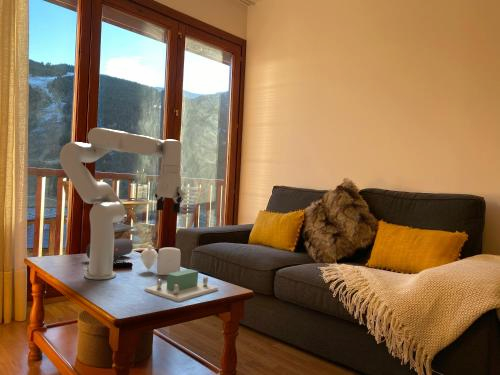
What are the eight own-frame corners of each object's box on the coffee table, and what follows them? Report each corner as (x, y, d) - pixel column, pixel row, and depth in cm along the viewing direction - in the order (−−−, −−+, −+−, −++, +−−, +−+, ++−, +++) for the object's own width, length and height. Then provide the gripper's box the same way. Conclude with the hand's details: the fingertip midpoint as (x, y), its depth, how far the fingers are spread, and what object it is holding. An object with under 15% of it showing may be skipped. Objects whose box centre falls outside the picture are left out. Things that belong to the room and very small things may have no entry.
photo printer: (156, 275, 179) (158, 248, 178) (156, 273, 183) (158, 246, 182) (179, 276, 180) (181, 248, 180) (179, 273, 185) (181, 247, 184)
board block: (166, 289, 155) (167, 273, 155) (188, 283, 165) (189, 269, 164) (175, 291, 152) (176, 276, 152) (197, 286, 162) (198, 271, 162)
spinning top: (137, 270, 186) (139, 244, 186) (153, 268, 190) (155, 243, 190) (142, 274, 180) (144, 247, 179) (159, 272, 184) (160, 246, 183)
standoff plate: (145, 290, 154) (146, 278, 154) (185, 281, 172) (186, 270, 172) (178, 301, 144) (179, 288, 144) (217, 290, 162) (218, 278, 162)
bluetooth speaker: (97, 264, 193) (98, 243, 193) (84, 261, 198) (85, 240, 197) (133, 257, 212) (134, 238, 212) (120, 254, 217) (121, 236, 217)
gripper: (149, 168, 167) (146, 209, 167) (178, 170, 157) (176, 214, 157) (163, 169, 173) (160, 209, 173) (192, 171, 163) (189, 213, 163)
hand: (167, 211), depth 165 cm, fingers open, 9 cm apart
